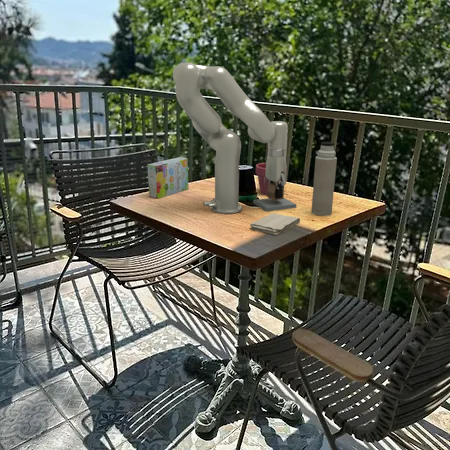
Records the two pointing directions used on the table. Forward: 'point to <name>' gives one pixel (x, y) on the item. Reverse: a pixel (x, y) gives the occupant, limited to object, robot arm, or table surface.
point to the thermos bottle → (324, 180)
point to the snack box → (168, 177)
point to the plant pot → (263, 177)
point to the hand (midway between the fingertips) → (275, 195)
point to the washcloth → (274, 224)
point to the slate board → (274, 204)
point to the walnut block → (273, 191)
